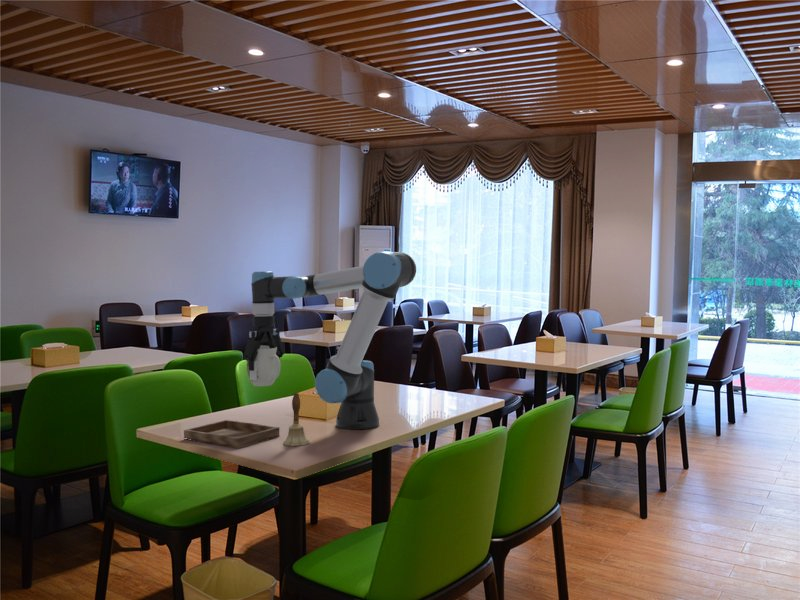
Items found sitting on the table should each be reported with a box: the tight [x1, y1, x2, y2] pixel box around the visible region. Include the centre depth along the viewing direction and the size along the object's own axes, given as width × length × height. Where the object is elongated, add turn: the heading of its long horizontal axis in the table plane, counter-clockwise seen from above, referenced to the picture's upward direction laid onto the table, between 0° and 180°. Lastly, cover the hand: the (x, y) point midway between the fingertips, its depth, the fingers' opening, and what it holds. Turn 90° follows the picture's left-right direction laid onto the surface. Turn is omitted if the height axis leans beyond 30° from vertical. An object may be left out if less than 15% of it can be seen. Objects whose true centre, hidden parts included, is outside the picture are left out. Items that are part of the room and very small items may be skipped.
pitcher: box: [246, 344, 282, 387], centre depth 259 cm, size 11×18×14 cm, turn 46°
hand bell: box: [282, 392, 310, 447], centre depth 233 cm, size 8×8×16 cm
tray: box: [183, 419, 280, 449], centre depth 241 cm, size 24×19×3 cm
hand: (264, 377), depth 260 cm, fingers closed on pitcher, 11 cm apart
